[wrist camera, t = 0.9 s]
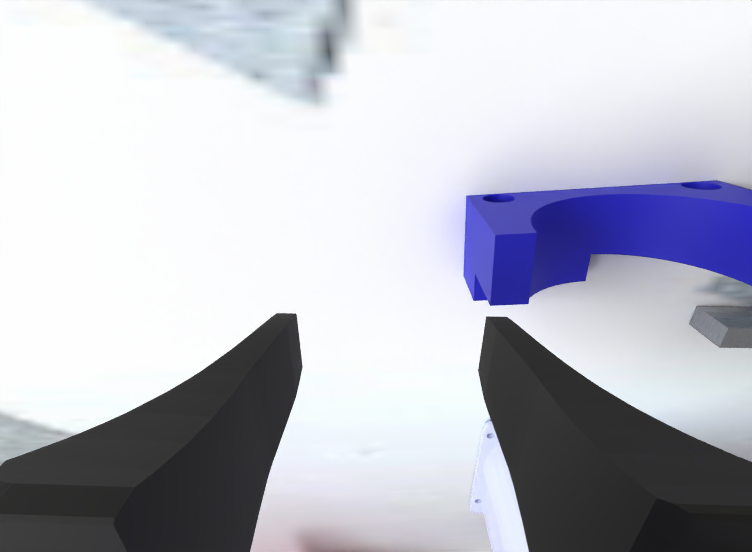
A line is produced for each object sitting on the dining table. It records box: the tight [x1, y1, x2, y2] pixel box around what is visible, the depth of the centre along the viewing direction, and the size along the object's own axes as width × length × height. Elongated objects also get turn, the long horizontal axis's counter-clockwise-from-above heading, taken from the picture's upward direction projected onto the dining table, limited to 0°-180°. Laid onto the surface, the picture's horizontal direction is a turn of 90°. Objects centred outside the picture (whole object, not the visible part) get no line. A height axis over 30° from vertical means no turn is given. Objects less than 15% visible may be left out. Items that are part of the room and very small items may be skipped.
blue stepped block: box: [464, 181, 752, 306], centre depth 17 cm, size 12×4×6 cm, turn 94°
